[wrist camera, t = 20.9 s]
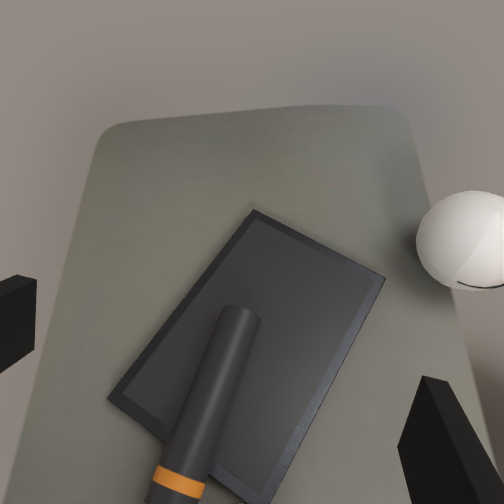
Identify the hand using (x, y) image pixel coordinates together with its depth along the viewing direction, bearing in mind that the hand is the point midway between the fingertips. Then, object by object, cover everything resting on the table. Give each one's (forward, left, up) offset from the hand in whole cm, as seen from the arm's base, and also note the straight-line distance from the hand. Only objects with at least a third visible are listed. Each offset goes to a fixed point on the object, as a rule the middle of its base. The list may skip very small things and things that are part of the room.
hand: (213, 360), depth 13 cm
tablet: (-1, +6, -15) cm, 16 cm away
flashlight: (-3, +6, -13) cm, 14 cm away
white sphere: (+10, +20, -15) cm, 27 cm away
